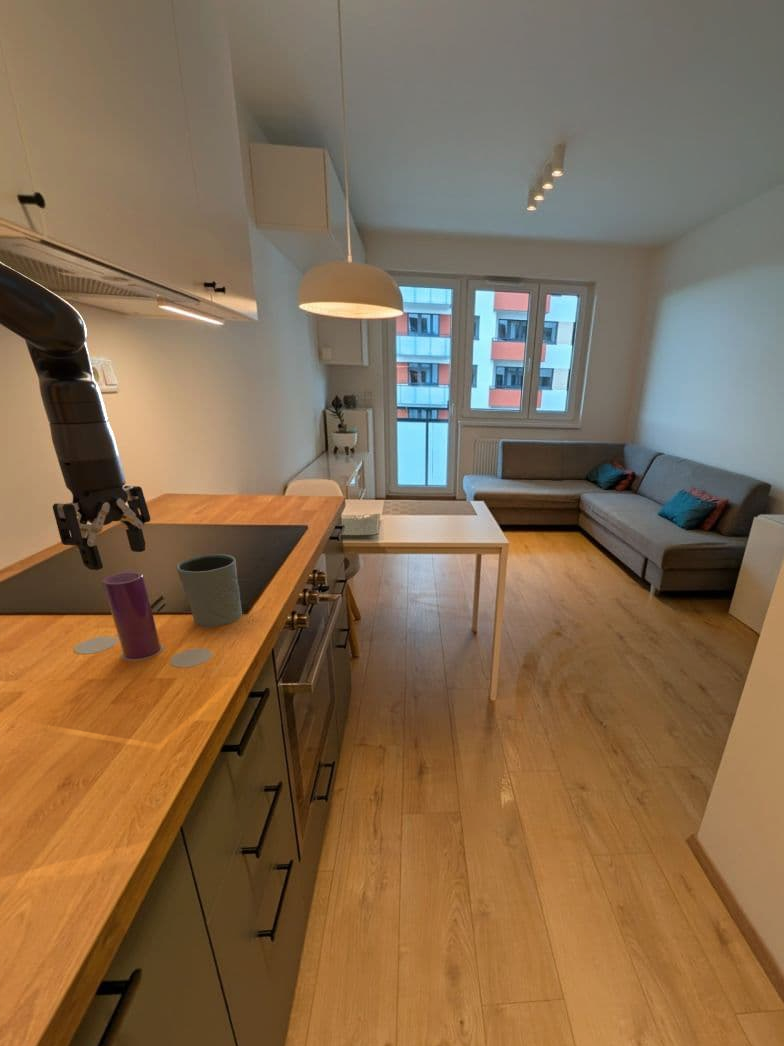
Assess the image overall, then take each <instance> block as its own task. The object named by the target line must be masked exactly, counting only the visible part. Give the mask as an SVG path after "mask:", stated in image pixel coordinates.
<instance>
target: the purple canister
mask: <svg viewBox="0 0 784 1046" xmlns="http://www.w3.org/2000/svg"><path fill="white" fill-rule="evenodd" d="M102 585H103V589H104V592H105V595H106V599H107V602H108V606H109V609H110V608H111V609H113V610H129V609H134V608H138V607H140V606H143V605H145V604H146V603H148V601H150V598H149V594H148V589H147V586H146V582H145V578H144V575H143V573H141V572H139V571H125V572H118V573H114V574H111V575H108V576H106V577H105V578H103V579H102Z"/></svg>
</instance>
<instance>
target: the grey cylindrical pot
mask: <svg viewBox="0 0 784 1046" xmlns="http://www.w3.org/2000/svg"><path fill="white" fill-rule="evenodd" d="M176 571H177V574H178V577H179V580H180V581H181V584H182V587H183V590H184V592H185V596H186V599H187V602H188V604H189V607H190V608H191V610H190V612H191V615H192V618H193V620H194V623H195V624H196V625H197V626H200V627H205V628H215V627H222V626H226V625H230V624H232V623H234V622H236V621H238V620H239V619H241V618H242V616H243V611H242V610H243V609H242V601H241V593H240V586H239V581H238V578H239V577H238V569H237V561H236V557H234V556H233V555H230V554H224V553H213V554H204V555H203V554H202V555H198V556H193V557H189V558H187V559H185V560H182V561H181V562H179V563H178V564H177V566H176Z"/></svg>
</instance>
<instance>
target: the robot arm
mask: <svg viewBox="0 0 784 1046" xmlns="http://www.w3.org/2000/svg"><path fill="white" fill-rule="evenodd" d="M0 325H1V326H3V327H4V328H5V329H8V330H9V331H10V332H12V333H14V334H15V335H16V336H19V337H20V338H22V339H23V340H24V342H25V344H26V345H25V346H26V347H27V350H28V354H29V356H30V359H31V362H32V365H33V368H34V370H35V373H36V375H37V378H38V386H39V391H40V397H41V401H42V405H43V408H44V412H45V414H46V418H47V422H48V424H49V428H50V437H51V441H52V445H53V449H54V451H55V454H56V458H57V461H58V465H59V468H60V471H61V474H62V478H63V481H64V484H65V487H66V489H68V490H69V491H70V493H71V494H72V501H71V502H67V503H57V502H55V503H53V504H52V510H53V514H54V520H55V523H56V527H57V531H58V534H59V537H60V542H61V544H62V545H64V546H75V547H77V548H78V550H79V554H80V556H81V561H82V563H83V565H84V566H85V567H86V568H87V569H88V570H91V571H100V570H101V569H103V567H104V565H103V562H102V558H101V555H100V552H99V547H98V545H95V544H96V540H97V537H98V534H99V533H101V532H102V530H103V527H104V526H107V525H110V524H111V523H113V522H120V523H121V525H123V526H124V527H125V528H126V529H125V532H126V537H127V540H128V544H129V548H130V550H131V551H132V552H134V553H142V552H145V551H146V540H145V535H144V532H143V528H144V524H146V523H149V522H151V516H150V512H149V508H148V505H147V502H146V501H147V500H146V498H145V495H144V490H143V488H142V486H139V485H126V483H127V479H126V476H125V471H124V468H123V464H122V460H121V456H120V453H119V449H118V445H117V441H116V438H115V437H116V436H115V434H114V432H113V429H112V427H111V425H110V421H109V417H108V413H107V410H106V406H105V402H104V397H103V395H102V392H101V389H100V386H99V385H98V383H97V380H96V379H95V376H94V371H93V367H92V364H91V358H90V354H89V349H88V346H87V338H88V333H87V332H88V331H87V330H88V329H87V326H86V323H85V321H84V319H83V317H82V315H81V314H80V313H79V311H78V310H77V309H76V308H75V307H74V306H73V305H71V304H70V303H69V302H68V301H66V300H65V299H64V298H62V297H61V296H59V295H57V294H56V293H54V292H52V291H51V290H49V289H48V288H46V287H45V286H44V285H41V284H40V283H38V282H36V281H34V280H32V279H31V278H30V277H27V276H26V275H24V274H22V273H20V272H18V271H17V270H15V269H13V268H12V267H10V266H8V265H6V264H5V263H2V261H0ZM89 523H90V524H89Z"/></svg>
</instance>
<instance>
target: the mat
mask: <svg viewBox="0 0 784 1046" xmlns="http://www.w3.org/2000/svg"><path fill="white" fill-rule="evenodd" d="M118 640H119V639H118V638H116V637H115V636H109V635H105V636H97V637H92V638H89V639H85V640H84V641H81V642H80V643H78V644H77V645H75V647H73V651H74V653H76V654H78V655H92V654H97V653H100V652H104V651H106V650H110V649H111V648H113V647H114V646H115V645H117V643H118ZM160 645H161V649H160V650H159V651H158V652H157V653H155V654H153V655H151V656H149V657H145V658H140V659H128V658H126V657H124V654H123V651H122V652H121V654H120V657H121V659H122V660H124V661H127V662H128V661H129V662H136V661H137V662H138V661H143V660H147V659H150V658H153V657H155V656H157V655H159V654H160V653H162V651H163V650H164V644H163V643H161V642H160ZM212 655H213V652H212V651H211V650H210V649H208V648H204V647H194V648H188V649H185V650H182V651H180V652H178V653H176V654H174V655H173V656H172V657H171V658H170V659H169V664H170V666H172V667H175V668H179V669H181V668H182V669H184V668H185V669H187V668H192V667H196V666H200V665H201V664H204V663H205V662H207V661H209V660H210V659H211V658H212Z"/></svg>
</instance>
